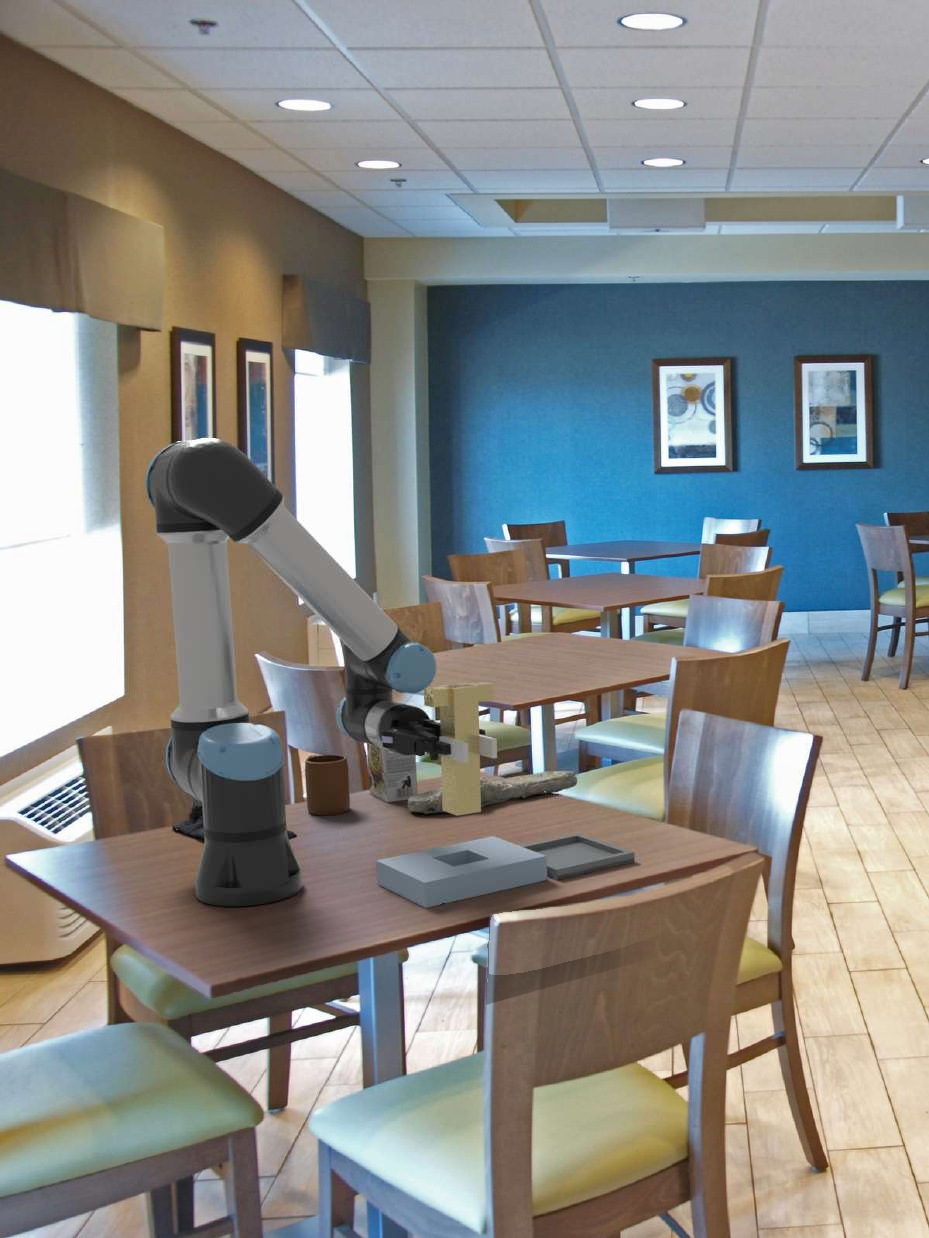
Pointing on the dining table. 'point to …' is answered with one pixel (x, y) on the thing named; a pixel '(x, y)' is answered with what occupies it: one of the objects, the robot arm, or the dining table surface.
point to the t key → (461, 725)
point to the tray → (579, 855)
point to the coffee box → (391, 774)
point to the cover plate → (461, 871)
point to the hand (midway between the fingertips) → (480, 750)
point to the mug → (327, 784)
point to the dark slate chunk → (201, 822)
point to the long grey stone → (501, 790)
